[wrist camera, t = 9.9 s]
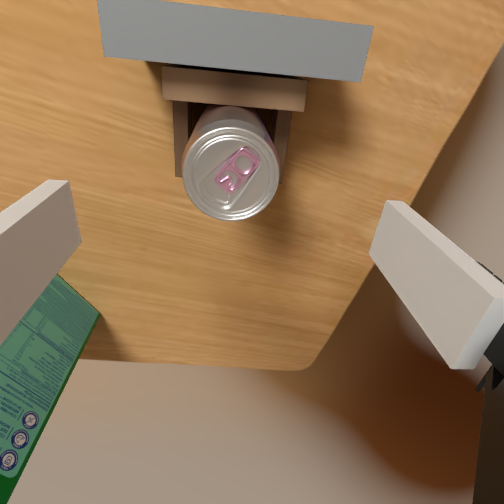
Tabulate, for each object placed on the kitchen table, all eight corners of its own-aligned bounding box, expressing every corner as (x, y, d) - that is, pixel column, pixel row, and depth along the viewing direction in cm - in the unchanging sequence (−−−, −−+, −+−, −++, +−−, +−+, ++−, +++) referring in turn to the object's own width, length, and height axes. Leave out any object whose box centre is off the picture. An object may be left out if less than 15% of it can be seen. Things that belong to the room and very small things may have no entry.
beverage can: (273, 126, 31) (304, 174, 19) (232, 171, 33) (235, 241, 21) (227, 79, 29) (225, 97, 16) (186, 130, 31) (157, 182, 18)
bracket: (180, 165, 33) (167, 194, 26) (177, 63, 28) (161, 66, 21) (276, 172, 34) (289, 202, 27) (289, 75, 29) (308, 80, 22)
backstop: (142, 56, 28) (103, 56, 19) (139, 13, 26) (95, -8, 18) (322, 74, 29) (360, 82, 21) (329, 35, 28) (373, 26, 19)
